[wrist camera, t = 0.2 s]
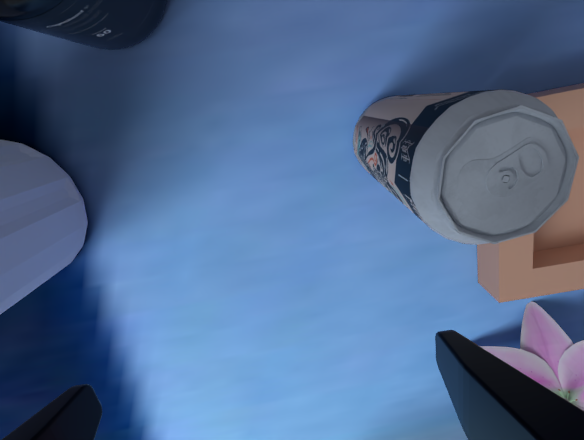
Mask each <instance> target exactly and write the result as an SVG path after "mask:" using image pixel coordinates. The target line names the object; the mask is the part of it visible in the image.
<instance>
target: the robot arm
mask: <svg viewBox="0 0 584 440" xmlns="http://www.w3.org/2000/svg"><path fill="white" fill-rule="evenodd" d="M435 341H436V361H437V365H438V368H439V370H440V373H441V375H442V378H443V380H444V383H445V385H446V388H447V390H448V393H449V395H450V398H451V400H452V403H453V405H454V408H455V410H456V413H457V415H458V418H459V420H460V423H461V425H462V427H463V430H464V432H465V434H466V436H467V438H468V440H584V411H583V410H581V409H580V408H578V407H577V406H575V405H573V404H572V403H570V402H569V401H567V400H565V399H564V398H562V397H561V396H559V395H557V394H556V393H554V392H552V391H551V390H549V389H548V388H546V387H544V386H543V385H541V384H540V383H538V382H536V381H535V380H533V379H531V378H530V377H528V376H527V375H525V374H523V373H522V372H520V371H519V370H517V369H515V368H514V367H512V366H511V365H509V364H507V363H506V362H504V361H502V360H501V359H499V358H498V357H496V356H494V355H493V354H491V353H490V352H488V351H486V350H485V349H483V348H482V347H480V346H478V345H477V344H475V343H473V342H472V341H470V340H469V339H467V338H465V337H464V336H462V335H461V334H459V333H457V332H456V331H453V330H447V331H440V332H437V333H436V336H435ZM101 416H102V406H101V404H100V402H99V400H98V398H97V396H96V394H95V392H94V390H93V388H92V386H90V385H89V384H83V385H76V386H73V387H71V388H69V389H68V390H67V391H65V392H64V393H63V394H61V395H60V396H59V397H57V398H56V399H55V400H53V401H52V402H51V403H49V404H48V405H47V406H45V407H44V408H43V409H42V410H40V411H39V412H38V413H36V414H35V415H34V416H32V417H31V418H30V419H28V420H27V421H26V422H24V423H23V424H22V425H20V426H19V427H18V428H16V429H15V430H14V431H13V432H11V433H10V434H9V435H7V436H6V437H5V438H3V439H2V440H94V438H95V435H96V432H97V429H98V426H99V423H100V420H101Z"/></svg>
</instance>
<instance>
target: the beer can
mask: <svg viewBox="0 0 584 440" xmlns="http://www.w3.org/2000/svg"><path fill="white" fill-rule="evenodd" d="M353 147H354V153H355V155H356V157H357V159H358V161H359V163H360V164H361V165H362V166H363V168H364V169H365V170H366V171H367V172H368V173H370V174H371V175H372V176H373V177H374V178H375V179H376V180H377V181H378V182H380V183H381V184H382V185H383V186H384V187H385V188H386V189H387V190H388V191H390V192H391V193H392V194H393V195H394V196H395V197H396V198H397V199H399V200H400V201H401V202H402V203H403V204H404V205H405V206H406V207H407V208H409V209H410V210H411V211H412V212H413V213H414V214H415V215H416V216H417V217H419V218H420V219H421V220H422V221H423V222H424V223H425V224H426V225H427V226H429V227H430V228H431V229H432V230H433V231H435V232H436V233H438V234H440V235H441V236H443V237H445V238H447V239H449V240H453V241H457V242H460V243H464V244H476V245H479V244H487V243H492V244H497V243H500V242H504V241H507V240H511V239H514V238H518V237H521V236H525V235H528V234H532V233H535V232H536V231H537V230H538V229H539V228H540V227H541V226H543V225H544V224H545V223H546V222H547V221H548V220H549V219H550V218H551V217H552V216H553V215H554V214H555V213H556V212H557V211H558V210H559V209H560V208H561V207H562V206H563V205H564V204H565V203H566V202H567V201H568V199H569V195H570V191H571V187H572V183H573V179H574V175H575V172H576V168H577V164H578V160H579V156H578V153H577V151H576V149H575V147H574V145H573V143H572V140H571V138H570V136H569V134H568V132H567V130H566V128H565V125H564V123H563V121H562V120H561V119H558V118H557V116H556V115H555V113H554V111H553V110H552V109H551V108H550V107H548V106H547V105H546V104H544V103H543V102H542V101H540V100H539V99H537V98H535V97H533V96H530V95H527V94H524V93H521V92H517V91H513V90H487V91H470V92H453V93H436V94H419V95H403V96H392V97H386V98H384V99H381V100H378V101H377V102H375V103H373V104H372V105H371V106H369V107H368V108H367V109H366V110H365V111H364V113H363V114H362V115H361V116H360V118H359V120H358V122H357V124H356V126H355V129H354V135H353Z"/></svg>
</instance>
